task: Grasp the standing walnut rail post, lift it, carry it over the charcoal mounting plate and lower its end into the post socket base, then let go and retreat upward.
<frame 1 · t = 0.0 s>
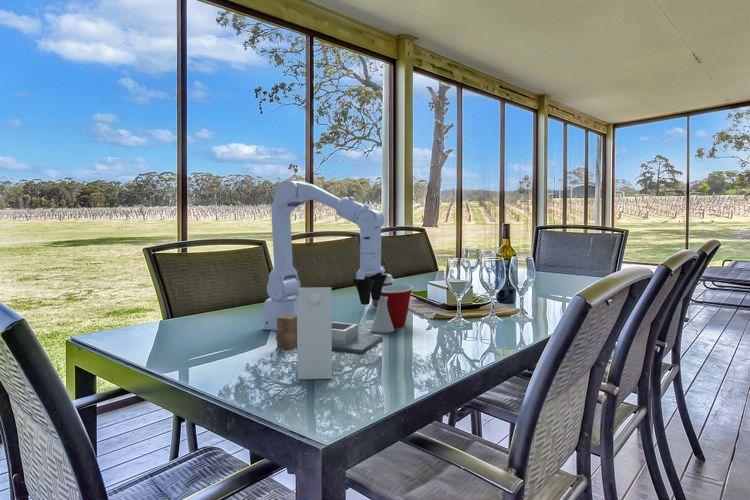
hand: (370, 302, 139), 10 cm above the table, tool pointing down, fingers open, 7 cm apart
coffee cup: (381, 308, 182), on the table
milk carton: (315, 375, 109), on the table
post socket base: (338, 342, 135), on the table
walnut rail post: (288, 347, 130), on the table
plastic cup: (395, 325, 155), on the table
flask: (382, 331, 148), on the table
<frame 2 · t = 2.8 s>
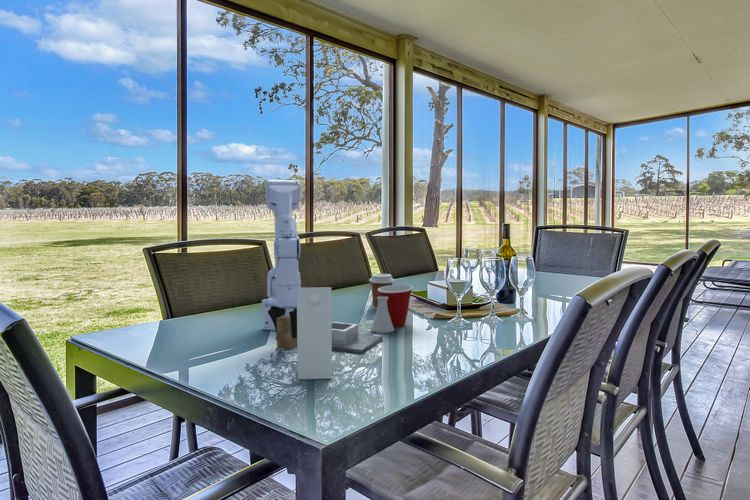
hand: (287, 336, 130), 3 cm above the table, tool pointing down, fingers closed on walnut rail post, 4 cm apart
walnut rail post: (288, 347, 130), on the table, touching gripper
everything else where it was.
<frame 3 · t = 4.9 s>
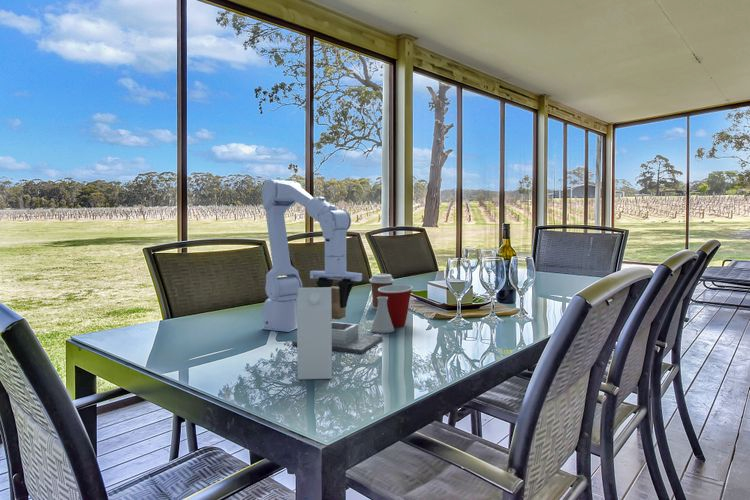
hand: (335, 306, 133), 10 cm above the table, tool pointing down, fingers closed on walnut rail post, 4 cm apart
walnut rail post: (335, 317, 134), point 7 cm above the table, touching gripper
everything else where it was.
when the fingers open (5 cm above the table, at t = 7.0 s): walnut rail post drops 1 cm, resting on post socket base.
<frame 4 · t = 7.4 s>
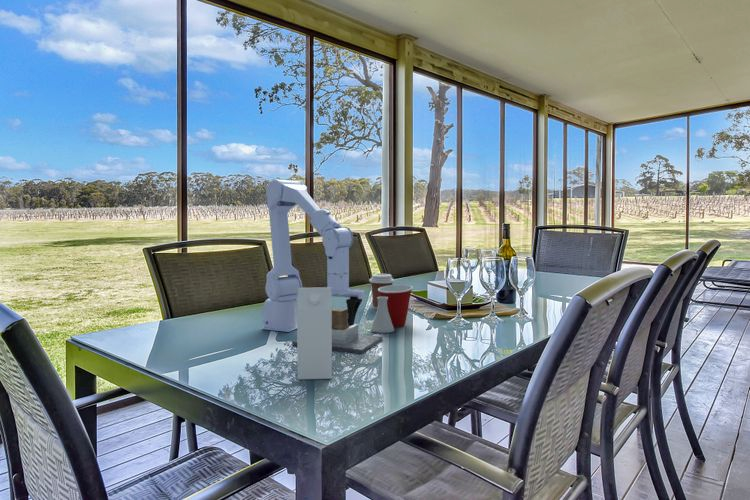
hand: (338, 323, 134), 5 cm above the table, tool pointing down, fingers open, 7 cm apart
walnut rail post: (337, 339, 134), point 1 cm above the table, touching post socket base
everything else where it was.
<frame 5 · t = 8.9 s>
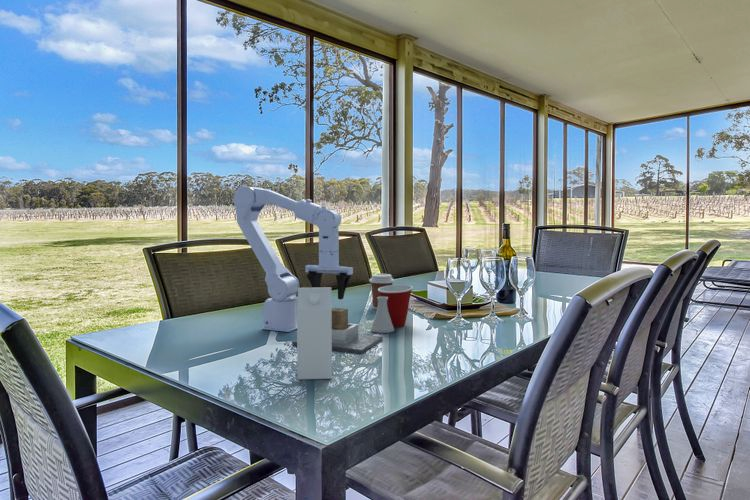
hand: (329, 298, 146), 10 cm above the table, tool pointing down, fingers open, 7 cm apart
nothing on the table moved.
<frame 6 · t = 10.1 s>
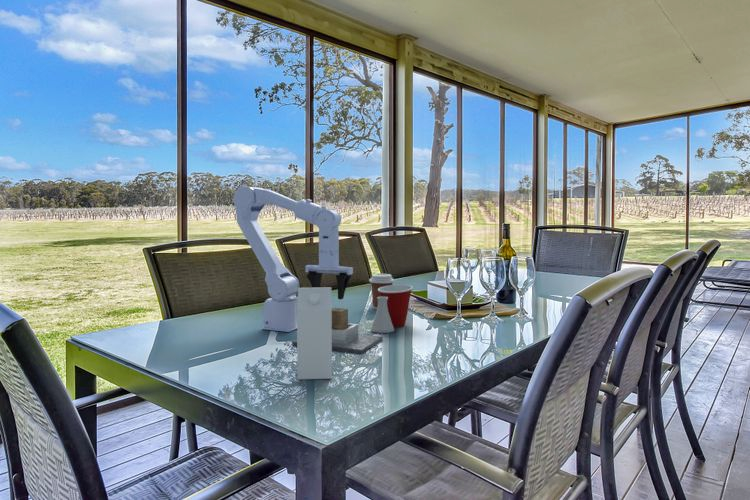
hand: (329, 297, 146), 10 cm above the table, tool pointing down, fingers open, 7 cm apart
nothing on the table moved.
at the end: walnut rail post 0.1 cm off-centre on the post socket base, point 1.0 cm above the post socket base's base; walnut rail post tilted 0°; the gripper is holding nothing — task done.
